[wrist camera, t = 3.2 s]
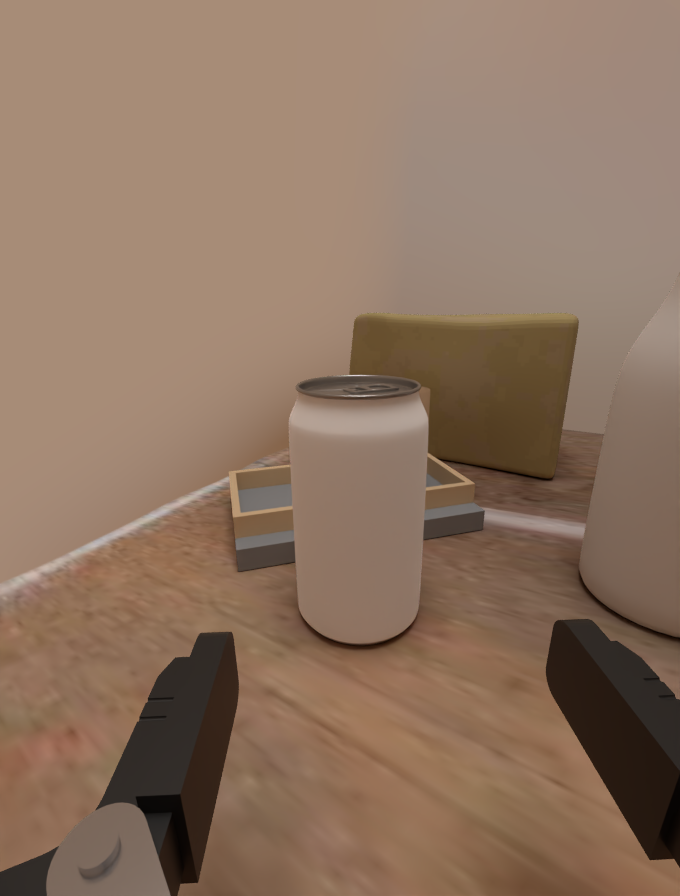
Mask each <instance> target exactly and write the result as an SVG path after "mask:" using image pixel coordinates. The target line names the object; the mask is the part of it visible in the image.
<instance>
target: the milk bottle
mask: <svg viewBox="0 0 680 896" xmlns="http://www.w3.org/2000/svg"><path fill="white" fill-rule="evenodd" d="M579 570H580V574H581V576H582V579H583V582H584V584H585V585H586V587H587V588H588V590H589V591H590V592H591V593H592V594H593V595H594V596H595V597H596V598H597V599H598V600H599V601H601V602H602V603H603V604H604V605H606V606H607V607H608V608H610V609H611V610H613V611H615V612H616V613H618V614H620V615H621V616H623V617H625V618H627V619H629V620H631V621H633V622H635V623H637V624H639V625H642V626H644V627H647V628H650V629H652V630H654V631H657V632H661V633H664V634H668V635H671V636H674V637H679V638H680V274H679V276H678V278H677V279H676V281H675V283H674V285H673V287H672V289H671V290H670V292H669V294H668V295H667V297H666V299H665V300H664V302H663V303H662V305H661V306H660V308H659V309H658V311H657V312H656V314H655V315H654V316H653V318H652V319H651V320H650V322H649V323H648V324H647V326H646V327H645V328H644V330H643V331H642V332H641V334H640V335H639V337H638V338H637V340H636V341H635V343H634V344H633V346H632V348H631V349H630V351H629V353H628V354H627V357H626V359H625V361H624V363H623V365H622V368H621V370H620V373H619V376H618V379H617V382H616V385H615V389H614V393H613V397H612V402H611V405H610V410H609V414H608V419H607V423H606V428H605V433H604V437H603V442H602V447H601V452H600V457H599V462H598V466H597V471H596V476H595V482H594V487H593V492H592V497H591V502H590V507H589V512H588V517H587V522H586V528H585V533H584V538H583V543H582V549H581V555H580V562H579Z"/></svg>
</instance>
